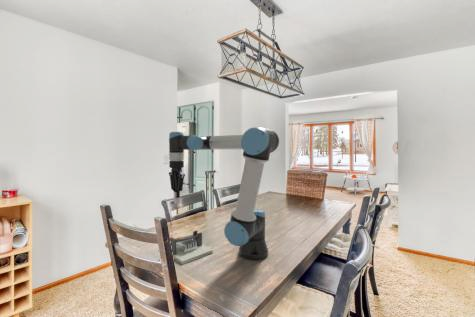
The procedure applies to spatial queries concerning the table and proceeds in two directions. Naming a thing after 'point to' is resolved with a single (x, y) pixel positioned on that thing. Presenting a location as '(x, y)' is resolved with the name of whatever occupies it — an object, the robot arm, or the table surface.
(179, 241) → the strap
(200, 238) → the mounts
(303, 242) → the table surface
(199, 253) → the board
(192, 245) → the heatsink
